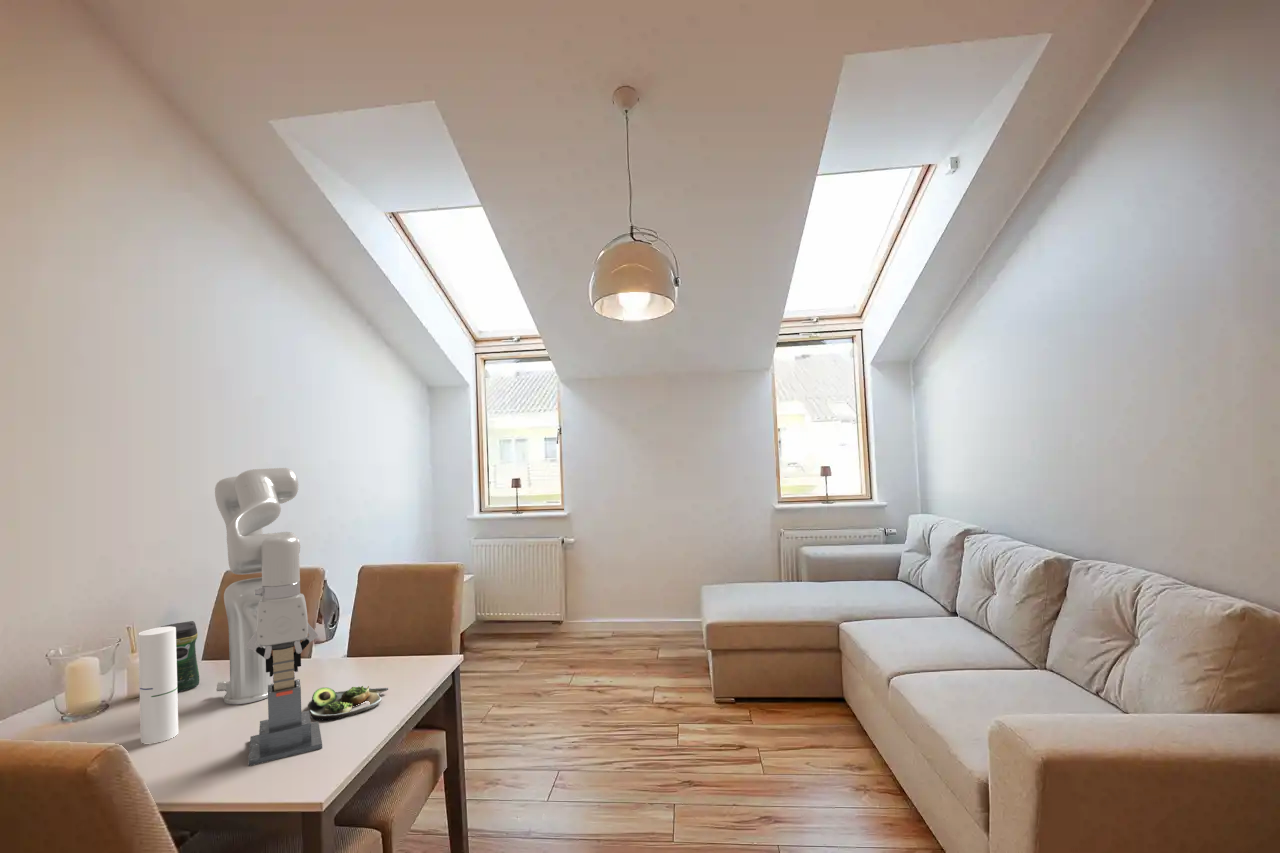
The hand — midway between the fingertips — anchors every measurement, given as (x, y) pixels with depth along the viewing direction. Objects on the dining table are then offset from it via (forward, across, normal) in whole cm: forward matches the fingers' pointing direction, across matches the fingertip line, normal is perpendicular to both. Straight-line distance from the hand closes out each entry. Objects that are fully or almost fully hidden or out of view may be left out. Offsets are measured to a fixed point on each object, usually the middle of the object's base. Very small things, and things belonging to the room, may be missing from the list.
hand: (283, 671), depth 147 cm
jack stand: (+16, 0, 0) cm, 16 cm away
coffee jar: (+17, -26, +59) cm, 67 cm away
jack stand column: (+15, 0, 0) cm, 15 cm away
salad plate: (+17, +13, +17) cm, 27 cm away
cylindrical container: (+17, -26, +22) cm, 38 cm away
